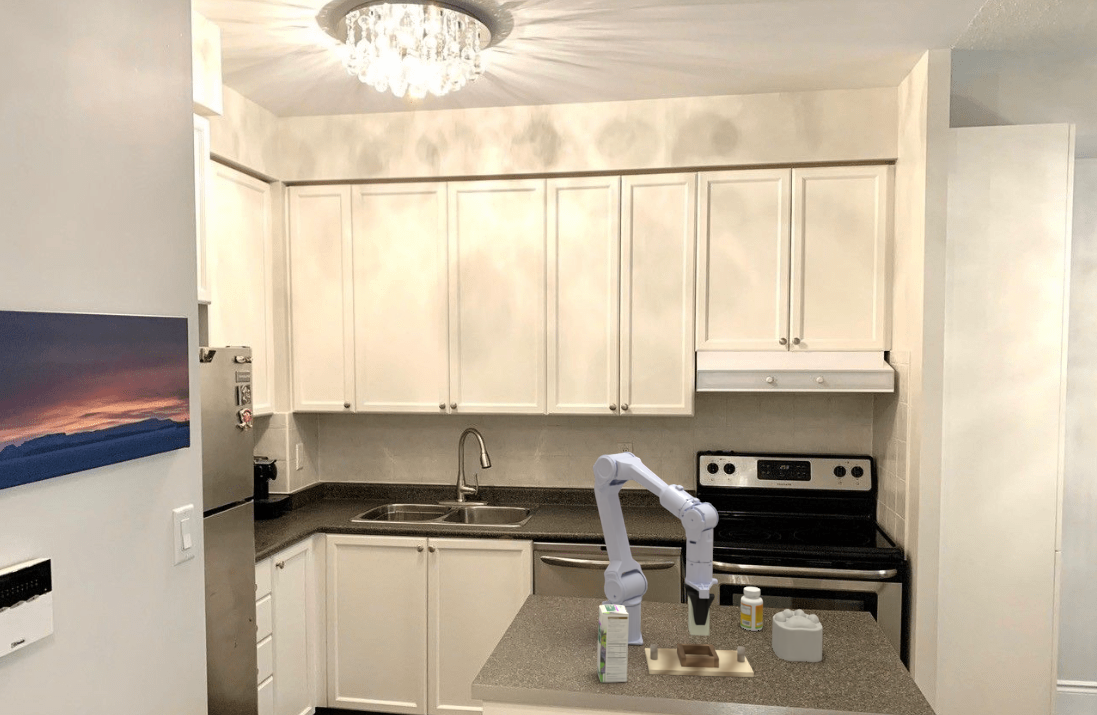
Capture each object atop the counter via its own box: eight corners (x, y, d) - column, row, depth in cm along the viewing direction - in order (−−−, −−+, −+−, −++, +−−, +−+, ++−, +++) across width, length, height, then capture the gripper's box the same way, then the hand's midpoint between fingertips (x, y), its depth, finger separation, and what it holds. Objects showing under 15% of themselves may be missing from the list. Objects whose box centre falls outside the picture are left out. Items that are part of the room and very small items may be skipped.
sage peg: (690, 635, 171) (691, 598, 171) (688, 628, 175) (688, 592, 175) (709, 635, 171) (709, 598, 171) (706, 628, 175) (706, 593, 175)
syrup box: (596, 671, 168) (597, 604, 168) (623, 671, 169) (624, 603, 168) (600, 683, 162) (601, 613, 162) (628, 682, 163) (629, 612, 163)
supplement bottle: (760, 624, 198) (761, 586, 198) (764, 632, 193) (765, 592, 193) (738, 623, 199) (739, 585, 199) (741, 630, 194) (742, 591, 193)
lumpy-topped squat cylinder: (778, 660, 175) (779, 622, 175) (767, 639, 188) (767, 603, 188) (826, 663, 175) (826, 624, 174) (811, 641, 188) (812, 605, 187)
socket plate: (649, 674, 167) (649, 655, 167) (644, 652, 179) (645, 634, 179) (753, 677, 166) (754, 658, 166) (742, 655, 178) (742, 637, 178)
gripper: (724, 569, 165) (723, 633, 166) (712, 551, 180) (711, 610, 180) (690, 568, 166) (689, 632, 166) (681, 550, 180) (680, 609, 180)
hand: (698, 620), depth 173 cm, fingers closed on sage peg, 4 cm apart
